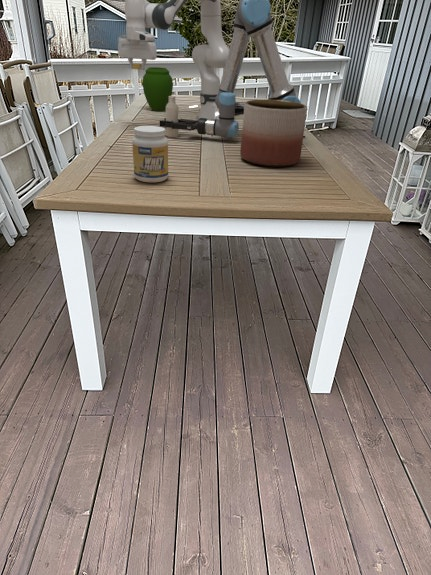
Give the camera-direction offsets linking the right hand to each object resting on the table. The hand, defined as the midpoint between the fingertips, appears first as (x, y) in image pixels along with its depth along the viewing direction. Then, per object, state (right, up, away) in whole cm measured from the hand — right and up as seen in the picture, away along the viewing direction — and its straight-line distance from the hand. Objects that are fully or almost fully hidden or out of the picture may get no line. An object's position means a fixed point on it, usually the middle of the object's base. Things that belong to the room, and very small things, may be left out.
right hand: (162, 122), depth 204 cm
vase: (-11, +34, +64) cm, 73 cm away
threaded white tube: (+5, -6, +2) cm, 8 cm away
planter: (+50, -28, -29) cm, 64 cm away
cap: (-11, +24, -9) cm, 28 cm away
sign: (+47, +41, +80) cm, 102 cm away
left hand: (-11, +22, -8) cm, 26 cm away
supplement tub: (+4, -44, -58) cm, 72 cm away
